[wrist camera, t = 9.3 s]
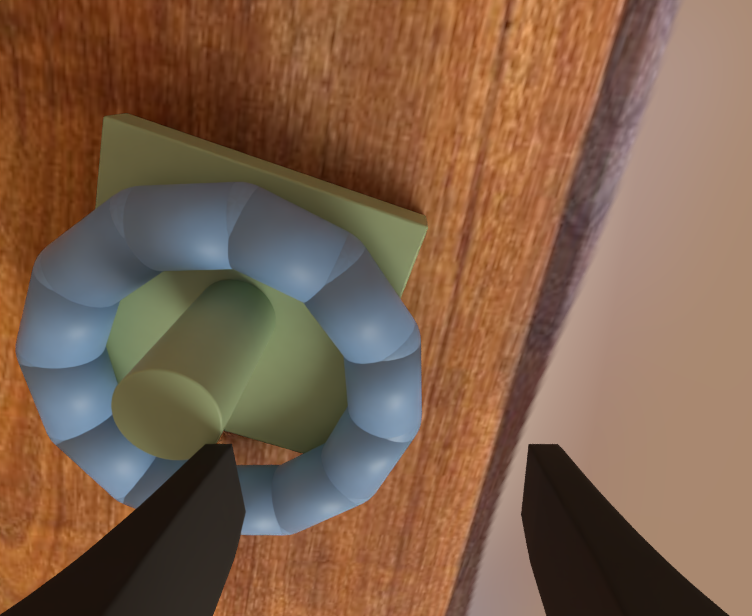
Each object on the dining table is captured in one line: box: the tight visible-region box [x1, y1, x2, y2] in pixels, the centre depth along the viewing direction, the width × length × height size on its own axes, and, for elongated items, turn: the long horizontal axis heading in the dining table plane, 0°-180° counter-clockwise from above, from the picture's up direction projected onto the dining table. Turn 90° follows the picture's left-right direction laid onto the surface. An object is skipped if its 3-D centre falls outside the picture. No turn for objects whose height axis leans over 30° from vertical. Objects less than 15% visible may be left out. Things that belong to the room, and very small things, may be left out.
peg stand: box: [95, 113, 428, 460], centre depth 14 cm, size 9×9×6 cm
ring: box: [16, 182, 422, 535], centre depth 15 cm, size 12×12×2 cm
